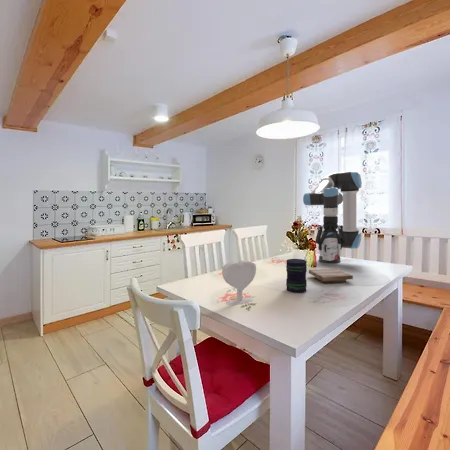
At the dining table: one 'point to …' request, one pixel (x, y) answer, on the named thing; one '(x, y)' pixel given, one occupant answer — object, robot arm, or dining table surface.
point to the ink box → (330, 249)
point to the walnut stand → (330, 275)
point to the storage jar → (296, 275)
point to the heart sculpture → (239, 278)
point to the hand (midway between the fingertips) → (330, 255)
